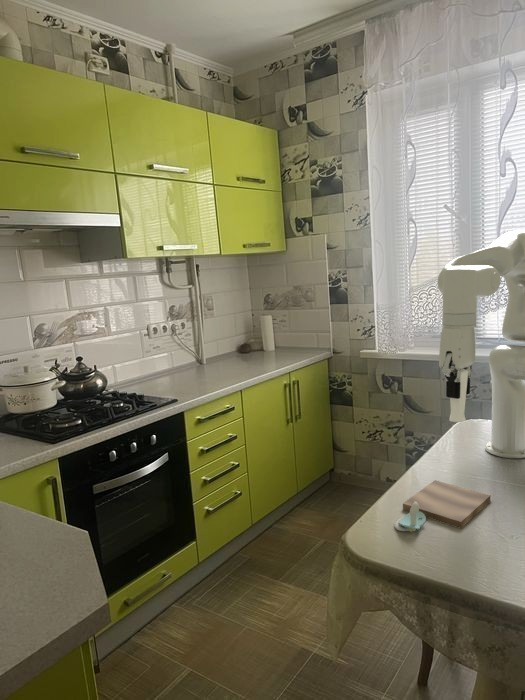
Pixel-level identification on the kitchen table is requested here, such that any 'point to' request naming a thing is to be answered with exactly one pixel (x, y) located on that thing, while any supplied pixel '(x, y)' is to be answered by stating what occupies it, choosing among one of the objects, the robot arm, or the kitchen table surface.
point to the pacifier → (411, 519)
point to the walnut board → (448, 503)
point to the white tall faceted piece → (459, 404)
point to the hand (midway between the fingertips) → (458, 394)
